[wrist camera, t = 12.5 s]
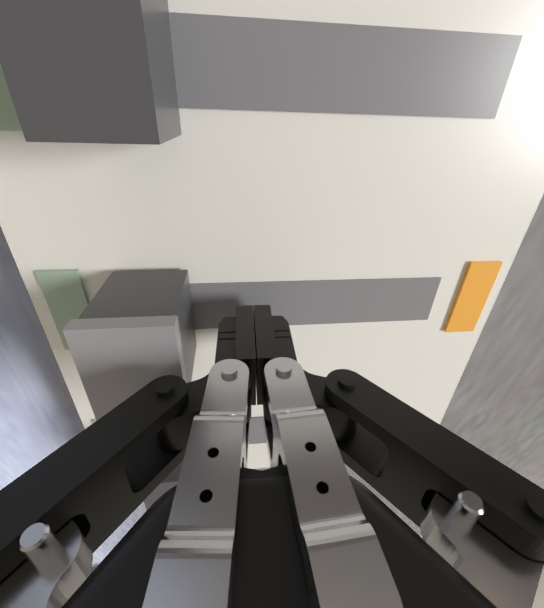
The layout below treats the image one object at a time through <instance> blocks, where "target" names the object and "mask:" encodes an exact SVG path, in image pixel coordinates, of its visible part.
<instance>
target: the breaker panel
mask: <svg viewBox="0 0 544 608" xmlns="http://www.w3.org/2000/svg"><path fill="white" fill-rule="evenodd" d="M543 193H544V0H0V226H1V228H2V231H3V233H4V236H5V238H6V240H7V243H8V245H9V248H10V250H11V252H12V255H13V257H14V260H15V262H16V264H17V267H18V269H19V272H20V274H21V276H22V279H23V281H24V284H25V286H26V289H27V291H28V293H29V296H30V298H31V301H32V303H33V305H34V308H35V310H36V313H37V315H38V317H39V320H40V322H41V325H42V327H43V329H44V332H45V334H46V337H47V339H48V342H49V344H50V346H51V349H52V351H53V354H54V356H55V358H56V361H57V363H58V366H59V368H60V370H61V373H62V375H63V378H64V380H65V382H66V385H67V387H68V390H69V392H70V394H71V397H72V399H73V402H74V404H75V407H76V409H77V411H78V414H79V416H80V419H81V421H82V423H83V426H84V428H85V429H86V428H87V427H89V426H90V425H92V424H93V423H94V422H96V418H95V415H94V413H93V410H92V408H91V405H90V402H89V400H88V397H87V394H86V392H85V389H84V386H83V384H82V381H81V378H80V376H79V373H78V371H77V368H76V365H75V363H74V360H73V357H72V355H71V352H70V349H69V347H68V344H67V342H66V339H65V336H64V334H63V331H62V330H63V329H64V328H65V326H66V325H67V324H68V322H69V321H70V320H71V319H78V318H79V316H80V315H81V313H82V312H83V311H84V309H85V308H86V307H87V305H88V304H89V303H90V301H91V300H92V299H93V297H94V296H95V295H96V293H97V292H98V291H99V289H100V288H101V286H102V285H103V284H104V282H105V281H106V280H107V278H108V277H109V276H110V274H111V273H112V272H113V271H145V270H188V276H189V285H190V293H191V302H192V310H193V319H194V327H195V336H196V344H197V346H196V353H195V359H194V366H193V373H192V380H191V382H192V381H195V380H198V379H201V378H203V377H205V376H206V375H208V374H209V372H210V369H211V368H212V366H213V365H214V364H215V355H216V346H217V336H218V326H219V323H220V322H221V321H222V319H223V318H224V317H236V305H253V307H254V305H270V308H271V314H272V316H283V317H284V318H285V319H286V320H287V321H288V323H289V327H290V331H291V336H292V340H293V345H294V349H295V354H296V358H297V362H298V363H299V364H300V365H301V366H302V368H303V370H305V371H306V372H308V373H311V374H314V375H318V376H322V377H327V375H328V374H329V373H330V372H332V371H334V370H337V369H348V370H351V371H354V372H356V373H358V374H360V375H361V376H363V377H364V378H366V379H368V380H369V381H371V382H372V383H374V384H376V385H377V386H379V387H380V388H382V389H384V390H385V391H387V392H388V393H390V394H392V395H393V396H395V397H396V398H398V399H400V400H401V401H403V402H404V403H406V404H408V405H409V406H411V407H412V408H414V409H416V410H417V411H419V412H420V413H422V414H424V415H425V416H427V417H428V418H430V419H432V420H433V421H435V422H436V423H438V424H440V423H441V420H442V418H443V416H444V414H445V411H446V409H447V407H448V405H449V402H450V400H451V398H452V396H453V394H454V391H455V389H456V387H457V385H458V382H459V380H460V378H461V376H462V374H463V371H464V369H465V367H466V365H467V362H468V360H469V358H470V356H471V354H472V351H473V349H474V347H475V345H476V342H477V340H478V338H479V336H480V333H481V331H482V329H483V327H484V325H485V322H486V320H487V318H488V316H489V313H490V311H491V309H492V307H493V305H494V302H495V300H496V298H497V296H498V293H499V291H500V289H501V287H502V284H503V282H504V280H505V278H506V276H507V273H508V271H509V269H510V267H511V264H512V262H513V260H514V258H515V256H516V253H517V251H518V249H519V247H520V244H521V242H522V240H523V238H524V236H525V233H526V231H527V229H528V227H529V224H530V222H531V220H532V218H533V215H534V213H535V211H536V209H537V207H538V204H539V202H540V200H541V198H542V195H543ZM251 413H252V414H251V419H250V430H249V446H248V462H247V468H249V469H256V468H267V467H270V461H269V455H268V449H267V443H266V436H265V430H264V424H263V405H257V393H256V405H251ZM182 463H183V461H182V462H181V463H180V464H179V465H178V466H177V467H176V468H175V469H174V470H173V471H172V472H171V473H170V474H169V475H168V476H167V477H166V478H165V479H164V480H163V481H162V482H161V483H160V484H159V485H158V486H157V487H156V488H155V489H154V491H153V492H152V493H151V494H150V495H149V496H148V497H147V498H146V499H145V500H144V503H145V506H146V509H147V510H148V509H149V508H150V507H151V505H152V504H153V503H154V502H155V501H156V500H157V499H158V498H160V497H161V496H162V495H163V494H164V493H165V492H167V491H168V490H169V489H171V488H172V487H174V486H176V485H177V484H178V479H179V475H180V471H181V467H182Z"/></svg>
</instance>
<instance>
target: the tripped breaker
mask: <svg viewBox="0 0 544 608" xmlns="http://www.w3.org/2000/svg"><path fill="white" fill-rule="evenodd" d="M62 331H63V334H64V336H65V339H66V342H67V344H68V347H69V349H70V352H71V355H72V357H73V360H74V363H75V365H76V368H77V371H78V373H79V376H80V378H81V381H82V384H83V386H84V389H85V392H86V394H87V397H88V400H89V402H90V405H91V408H92V410H93V413H94V415H95V418H96V421H97V420H98V419H100V418H101V417H103V416H104V415H105V414H107V413H108V412H109V411H111V410H112V409H114V408H115V407H116V406H118V405H119V404H121V403H122V402H123V401H125V400H126V399H127V398H129V397H130V396H132V395H133V394H134V393H136V392H137V391H138V390H140V389H141V388H143V387H144V386H145V385H147V384H148V383H150V382H151V381H152V380H154V379H156V378H158V377H161V376H165V375H176V376H179V377H181V378H183V379H184V380H185V381H186V383H188V382H191V380H192V373H193V366H194V359H195V353H196V346H197V344H196V336H195V327H194V319H193V310H192V302H191V293H190V285H189V276H188V270H145V271H113V272H112V273H111V274H110V276H109V277H108V278H107V280H106V281H105V282H104V284H103V285H102V286H101V288H100V289H99V291H98V292H97V293H96V295H95V296H94V297H93V299H92V300H91V301H90V303H89V304H88V305H87V307H86V308H85V309H84V311H83V312H82V313H81V315H80V316H79V318H78V319H71V320H70V321H69V322H68V324H67V325H66V326H65V328H64V329H63V330H62Z"/></svg>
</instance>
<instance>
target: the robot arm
mask: <svg viewBox="0 0 544 608" xmlns="http://www.w3.org/2000/svg"><path fill="white" fill-rule="evenodd" d="M256 393H257V405H263V424H264V430H265V436H266V443H267V449H268V455H269V461H270V467H271V468H270V469H267V470H263V471H260V470H254V469H249V468H247V462H248V446H249V430H250V419H251V414H252V413H251V405H256ZM182 461H183V463H182V467H181V471H180V475H179V479H178V484H177V485H176V486H174V487H172V488H171V489H169V490H168V491H167V492H165V493H164V494H163V495H162V496H161V497H160V498H158V499H157V500H156V501H155V502H154V503H153V504H152V505H151V507H150V508H149V509H148V510H147V511H146V512H145V513H144V514H143V516H142V517H141V518H140V519H139V520H138V521H137V522H136V524H135V525H134V526H133V527H132V528H131V529H130V530H129V531H128V533H127V534H126V535H125V536H124V537H123V538H122V539H121V541H120V542H119V543H118V544H117V545H116V546H115V547H114V548H113V550H112V551H111V552H110V553H109V554H108V555H107V556H106V557H105V559H104V560H103V561H102V562H101V563H100V564H99V565H98V566H97V568H96V569H95V570H94V571H93V572H92V573H91V574H90V576H89V577H88V575H89V573H90V570H91V567H92V561H93V555H92V553H93V552H94V551H95V550H96V549H97V548H98V547H99V546H100V545H101V544H102V543H103V542H104V541H105V540H106V539H107V538H108V537H109V536H110V535H111V534H112V533H113V532H114V531H115V530H116V529H117V528H118V527H119V526H120V525H121V524H122V522H123V521H124V520H125V519H126V518H127V517H128V516H129V515H130V514H131V513H132V512H133V511H134V510H135V509H136V508H137V507H138V506H139V505H140V504H141V503H142V502H143V501H144V500H145V499H146V498H147V497H148V496H149V495H150V494H151V493H152V492H153V491H154V489H155V488H156V487H157V486H158V485H159V484H160V483H161V482H162V481H163V480H164V479H165V478H166V477H167V476H168V475H169V474H170V473H171V472H172V471H173V470H174V469H175V468H176V467H177V466H178V465H179V464H180V463H181V462H182ZM344 463H345V464H346V465H347V466H349V467H350V468H351V469H352V470H353V471H354V472H356V473H357V474H358V475H359V476H360V477H361V478H363V479H364V480H365V481H366V482H367V483H368V484H370V485H371V486H372V487H373V488H374V489H375V490H377V491H378V492H379V493H380V494H381V495H382V496H384V497H385V498H386V499H387V500H388V501H389V502H391V503H392V504H393V505H394V506H395V507H396V508H398V509H399V510H400V511H401V512H402V513H403V514H405V515H406V516H407V517H408V518H409V519H410V520H412V521H413V522H414V523H415V524H416V525H417V526H419V527H420V530H421V535H422V538H423V539H422V538H421V537H420V536H419V535H418V534H417V533H416V532H415V531H413V530H412V529H411V528H410V527H409V526H408V525H407V524H406V523H405V522H404V521H403V520H401V519H400V518H399V517H398V516H397V515H396V514H395V513H394V512H393V511H392V510H391V509H390V508H388V507H387V506H386V505H385V504H384V503H383V502H382V501H381V500H380V499H379V498H378V497H377V496H375V495H374V494H373V493H372V492H371V491H370V490H369V489H368V488H367V487H365V486H364V485H363V484H362V483H360V482H359V481H358V480H356V479H354V478H352V477H351V476H349V475H348V472H347V470H346V467H345V464H344ZM542 569H544V489H542V488H540V487H539V486H537V485H536V484H534V483H532V482H531V481H529V480H528V479H526V478H524V477H523V476H521V475H520V474H518V473H516V472H515V471H513V470H512V469H510V468H508V467H507V466H505V465H504V464H502V463H500V462H499V461H497V460H496V459H494V458H492V457H491V456H489V455H488V454H486V453H484V452H483V451H481V450H480V449H478V448H476V447H475V446H473V445H472V444H470V443H468V442H467V441H465V440H464V439H462V438H460V437H459V436H457V435H456V434H454V433H452V432H451V431H449V430H448V429H446V428H444V427H443V426H441V425H440V424H438V423H436V422H435V421H433V420H432V419H430V418H428V417H427V416H425V415H424V414H422V413H420V412H419V411H417V410H416V409H414V408H412V407H411V406H409V405H408V404H406V403H404V402H403V401H401V400H400V399H398V398H396V397H395V396H393V395H392V394H390V393H388V392H387V391H385V390H384V389H382V388H380V387H379V386H377V385H376V384H374V383H372V382H371V381H369V380H368V379H366V378H364V377H363V376H361V375H360V374H358V373H356V372H354V371H351V370H348V369H337V370H334V371H332V372H330V373H329V374H328V375H327V377H322V376H318V375H314V374H311V373H308V372H306V371H305V370H303V368H302V366H301V365H300V364H299V363H298V362H297V358H296V354H295V349H294V345H293V340H292V336H291V331H290V327H289V323H288V321H287V320H286V319H285V318H284V317H283V316H272V314H271V308H270V305H254V307H253V305H236V317H224V318H223V319H222V321H221V322H220V323H219V326H218V336H217V346H216V355H215V364H214V365H213V366H212V368H211V369H210V372H209V374H208V375H206V376H205V377H203V378H201V379H198V380H195V381H192V382H188V383H186V381H185V380H184V379H183V378H181V377H179V376H176V375H165V376H161V377H158V378H156V379H154V380H152V381H151V382H150V383H148V384H147V385H145V386H144V387H143V388H141V389H140V390H138V391H137V392H136V393H134V394H133V395H132V396H130V397H129V398H127V399H126V400H125V401H123V402H122V403H121V404H119V405H118V406H116V407H115V408H114V409H112V410H111V411H109V412H108V413H107V414H105V415H104V416H103V417H101V418H100V419H98V420H97V421H96V422H94V423H93V424H92V425H90V426H89V427H87V428H86V429H85V430H83V431H82V432H80V433H79V434H78V435H76V436H75V437H74V438H72V439H71V440H69V441H68V442H67V443H65V444H64V445H63V446H61V447H60V448H58V449H57V450H56V451H54V452H53V453H51V454H50V455H49V456H47V457H46V458H45V459H43V460H42V461H40V462H39V463H38V464H36V465H35V466H33V467H32V468H31V469H29V470H28V471H27V472H25V473H24V474H22V475H21V476H20V477H18V478H17V479H16V480H14V481H13V482H11V483H10V484H9V485H7V486H6V487H4V488H3V489H2V490H0V608H532V605H533V601H534V597H535V594H536V590H537V587H538V583H539V579H540V575H541V572H542ZM87 577H88V578H87Z"/></svg>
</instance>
